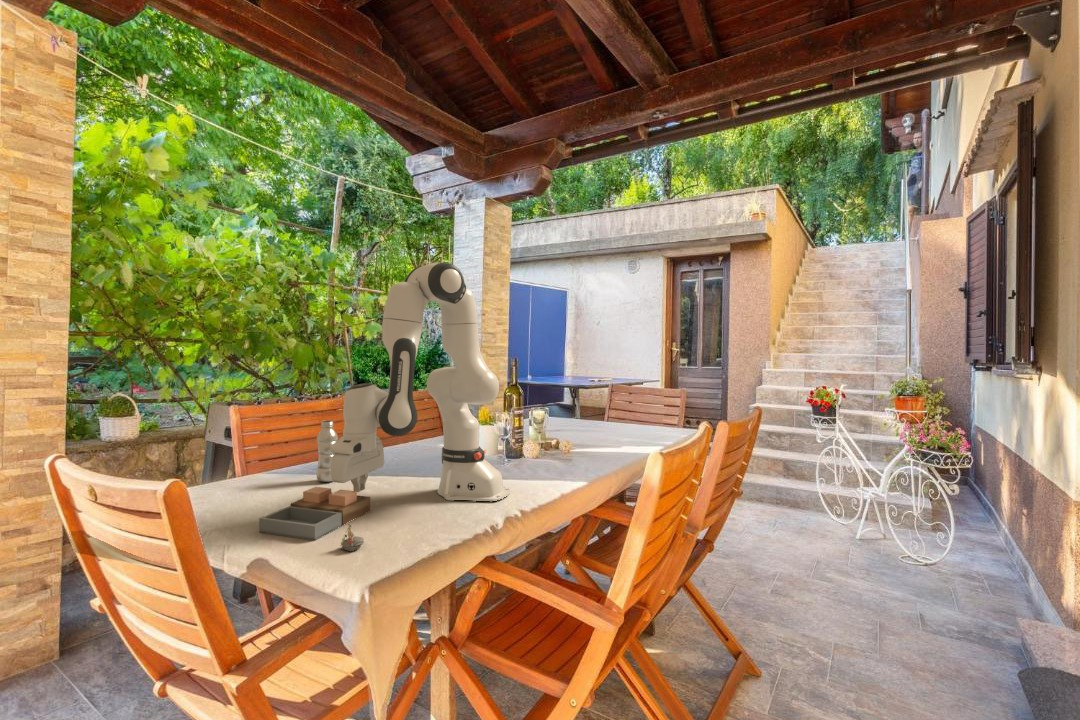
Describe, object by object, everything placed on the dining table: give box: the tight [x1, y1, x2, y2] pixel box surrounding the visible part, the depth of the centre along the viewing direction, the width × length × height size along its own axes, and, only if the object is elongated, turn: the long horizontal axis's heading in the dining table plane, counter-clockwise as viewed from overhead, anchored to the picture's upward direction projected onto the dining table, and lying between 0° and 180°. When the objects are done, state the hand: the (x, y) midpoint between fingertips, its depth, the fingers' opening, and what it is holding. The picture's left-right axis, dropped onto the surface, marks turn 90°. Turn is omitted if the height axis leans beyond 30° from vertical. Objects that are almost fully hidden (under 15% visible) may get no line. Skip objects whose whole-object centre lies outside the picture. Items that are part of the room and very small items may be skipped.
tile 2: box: [329, 489, 358, 506], centre depth 142 cm, size 5×5×2 cm
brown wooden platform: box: [289, 491, 371, 526], centre depth 143 cm, size 16×12×4 cm
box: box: [258, 505, 343, 541], centre depth 132 cm, size 16×10×4 cm, turn 74°
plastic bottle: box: [315, 419, 339, 483], centre depth 175 cm, size 6×7×20 cm
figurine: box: [339, 523, 365, 552], centre depth 121 cm, size 5×4×6 cm
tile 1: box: [302, 486, 332, 503], centre depth 144 cm, size 5×5×2 cm
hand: (359, 490), depth 149 cm, fingers closed
